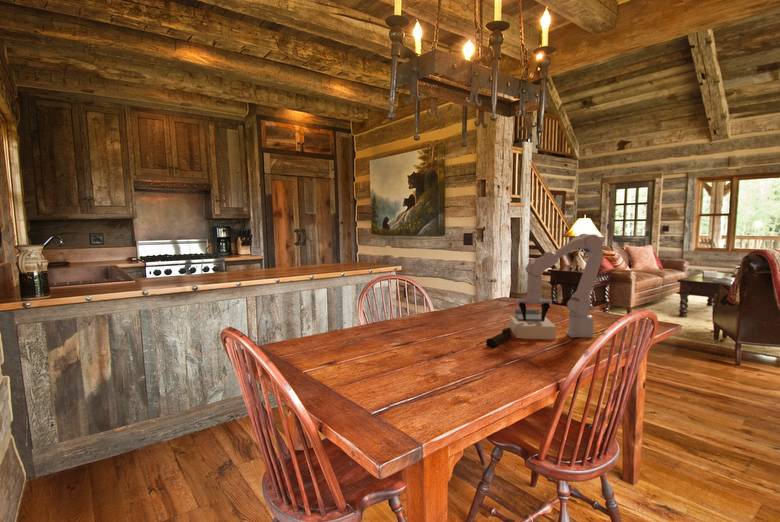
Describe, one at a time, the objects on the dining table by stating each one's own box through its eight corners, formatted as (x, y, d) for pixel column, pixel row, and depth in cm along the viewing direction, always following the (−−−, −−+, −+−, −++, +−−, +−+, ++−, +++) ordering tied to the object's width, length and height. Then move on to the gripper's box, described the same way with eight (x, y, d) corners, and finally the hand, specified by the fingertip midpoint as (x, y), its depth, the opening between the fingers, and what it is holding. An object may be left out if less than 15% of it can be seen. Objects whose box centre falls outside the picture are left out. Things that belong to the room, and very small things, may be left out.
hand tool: (494, 349, 157) (494, 338, 157) (485, 347, 160) (485, 336, 160) (516, 338, 171) (517, 328, 170) (508, 337, 174) (508, 326, 173)
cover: (538, 314, 187) (538, 309, 187) (544, 320, 176) (544, 314, 176) (514, 314, 189) (514, 308, 188) (519, 320, 178) (519, 314, 177)
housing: (544, 327, 186) (545, 316, 185) (555, 339, 168) (555, 326, 168) (509, 327, 188) (509, 315, 187) (516, 338, 170) (516, 325, 170)
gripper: (518, 291, 169) (518, 322, 170) (554, 291, 167) (553, 322, 168) (515, 288, 176) (515, 318, 177) (549, 288, 174) (549, 318, 175)
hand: (533, 320), depth 173 cm, fingers open, 7 cm apart
